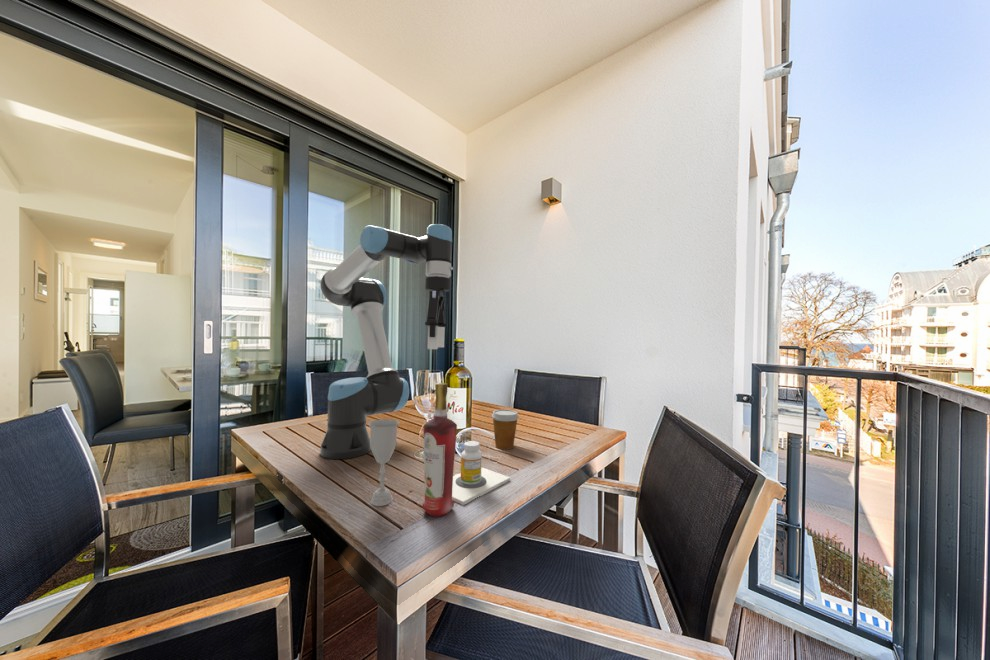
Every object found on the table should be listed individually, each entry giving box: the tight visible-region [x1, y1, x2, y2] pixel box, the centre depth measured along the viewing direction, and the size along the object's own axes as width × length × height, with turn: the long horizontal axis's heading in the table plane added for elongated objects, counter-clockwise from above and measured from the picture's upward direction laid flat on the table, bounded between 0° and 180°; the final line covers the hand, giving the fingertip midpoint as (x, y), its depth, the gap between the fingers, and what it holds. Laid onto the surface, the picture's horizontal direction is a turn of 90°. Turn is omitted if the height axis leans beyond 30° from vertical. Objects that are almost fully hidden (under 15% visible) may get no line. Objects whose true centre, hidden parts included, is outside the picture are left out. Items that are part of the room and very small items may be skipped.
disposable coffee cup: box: [491, 409, 520, 450], centre depth 120 cm, size 10×10×12 cm
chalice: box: [368, 418, 400, 507], centre depth 79 cm, size 7×7×18 cm
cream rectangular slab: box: [452, 467, 511, 506], centre depth 89 cm, size 18×12×1 cm, turn 141°
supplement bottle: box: [460, 440, 483, 485], centre depth 89 cm, size 5×5×10 cm
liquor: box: [422, 382, 458, 518], centre depth 75 cm, size 7×7×28 cm
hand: (436, 348), depth 102 cm, fingers open, 13 cm apart
